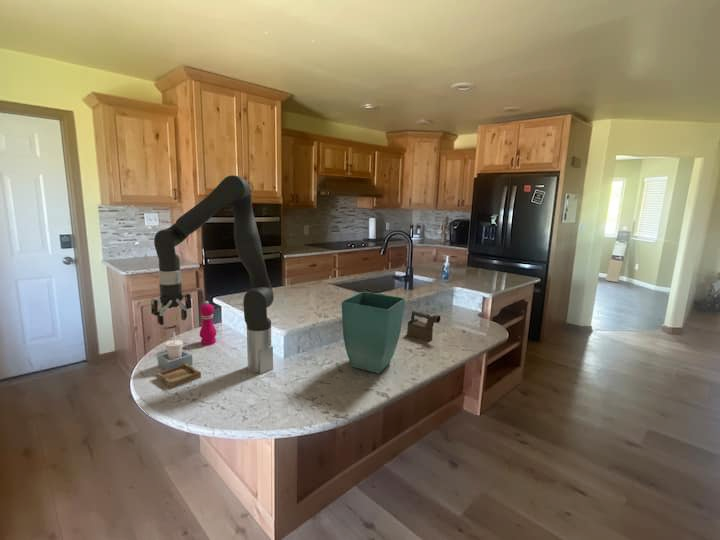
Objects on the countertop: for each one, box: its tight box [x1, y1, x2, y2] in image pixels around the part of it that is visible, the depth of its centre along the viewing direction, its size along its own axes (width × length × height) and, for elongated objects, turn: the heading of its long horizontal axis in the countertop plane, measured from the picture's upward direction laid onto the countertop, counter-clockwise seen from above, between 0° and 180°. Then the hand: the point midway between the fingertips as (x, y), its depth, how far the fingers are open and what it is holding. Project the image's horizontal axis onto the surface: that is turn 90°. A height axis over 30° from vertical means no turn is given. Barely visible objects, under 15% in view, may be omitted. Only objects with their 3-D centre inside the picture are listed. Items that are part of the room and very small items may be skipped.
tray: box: [156, 364, 202, 389], centre depth 139 cm, size 11×11×2 cm
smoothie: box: [164, 331, 184, 361], centre depth 148 cm, size 6×6×14 cm
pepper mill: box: [199, 300, 218, 346], centre depth 170 cm, size 7×7×20 cm
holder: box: [157, 348, 194, 371], centre depth 149 cm, size 9×9×4 cm
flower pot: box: [341, 291, 406, 374], centre depth 154 cm, size 20×20×28 cm
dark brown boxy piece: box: [406, 310, 441, 341], centre depth 188 cm, size 8×16×13 cm, turn 46°
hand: (172, 322), depth 145 cm, fingers open, 8 cm apart
